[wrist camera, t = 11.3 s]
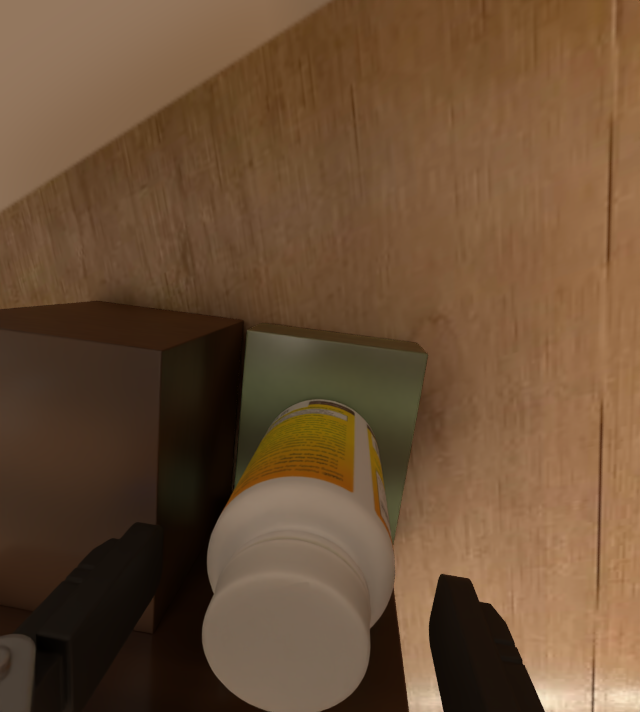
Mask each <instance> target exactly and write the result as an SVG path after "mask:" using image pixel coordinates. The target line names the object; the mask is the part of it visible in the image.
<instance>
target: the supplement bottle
mask: <svg viewBox="0 0 640 712" xmlns="http://www.w3.org/2000/svg"><path fill="white" fill-rule="evenodd" d="M207 572H208V577H209V581H210V584H211V587H212V590H213V593H214V595H213V597H212V599H211V602H210V604H209V606H208V608H207V611H206V614H205V617H204V621H203V627H202V643H203V648H204V653H205V656H206V658H207V661H208V663H209V665H210V667H211V669H212V671H213V672H214V674H215V675H216V677H217V678H218V679H219V680H220V681H221V682H222V683H223V684H224V685H225V686H226V688H227V689H228V690H230V691H231V692H232V693H233V694H235V695H236V696H237V697H239V698H240V699H242V700H244V701H245V702H247V703H249V704H251V705H253V706H255V707H258V708H260V709H263V710H266V711H270V712H320V711H323V710H325V709H328V708H330V707H333V706H335V705H337V704H338V703H340V702H342V701H343V700H345V699H346V698H347V697H348V696H349V695H351V694H352V693H353V692H354V690H355V689H356V688H357V687H358V685H359V684H360V682H361V681H362V679H363V678H364V675H365V673H366V670H367V667H368V663H369V657H370V628H371V627H372V626H373V625H374V624H375V623H376V622H377V620H378V619H379V618H380V617H381V615H382V613H383V612H384V610H385V608H386V606H387V604H388V602H389V600H390V597H391V594H392V590H393V586H394V579H395V560H394V550H393V544H392V537H391V530H390V523H389V516H388V509H387V501H386V495H385V487H384V481H383V474H382V468H381V461H380V454H379V449H378V444H377V441H376V438H375V435H374V433H373V431H372V429H371V428H370V426H369V425H368V423H367V422H366V421H365V420H364V419H363V418H362V417H361V416H360V415H359V414H358V413H357V412H355V411H354V410H353V409H351V408H349V407H348V406H346V405H343V404H341V403H338V402H335V401H330V400H323V399H314V400H307V401H303V402H300V403H297V404H295V405H293V406H291V407H289V408H287V409H286V410H285V411H283V412H282V413H281V414H280V415H279V416H278V417H277V418H276V419H275V420H274V421H273V423H272V424H271V425H270V427H269V428H268V430H267V432H266V434H265V436H264V437H263V439H262V441H261V443H260V445H259V446H258V448H257V450H256V452H255V454H254V455H253V457H252V459H251V461H250V462H249V464H248V466H247V468H246V470H245V471H244V473H243V475H242V477H241V478H240V480H239V482H238V484H237V486H236V488H235V489H234V491H233V493H232V495H231V497H230V499H229V500H228V502H227V504H226V506H225V508H224V509H223V511H222V513H221V515H220V517H219V518H218V520H217V523H216V525H215V527H214V529H213V532H212V534H211V537H210V541H209V545H208V551H207Z"/></svg>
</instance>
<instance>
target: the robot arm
mask: <svg viewBox="0 0 640 712" xmlns="http://www.w3.org/2000/svg"><path fill="white" fill-rule="evenodd" d="M163 546H164V529H163V527H162V526H159V525H153V524H147V523H141V522H136V523H134V524H133V525H132V526H131V527H130V528H129V529H128V530H127V531H126V533H125V534H124V535H123V536H122V537H121V538H120V539H116V538H111V539H109V540H107V541H106V542H104V543H103V544H101V545H99V546H98V547H96V548H94V549H93V550H92V551H91V552H90V553H89V554H88V555H87V556H86V557H85V558H84V559H83V560H82V561H81V562H80V563H79V564H78V567H77V568H74V570H73V571H72V572H71V573H70V574H69V575H68V576H67V577H66V579H65V581H62V582H61V583H60V584H59V585H58V586H57V587H56V588H55V589H54V590H53V591H52V593H51V594H50V595H49V596H48V597H47V598H46V599H45V600H44V601H43V602H42V603H41V604H40V605H39V606H38V607H37V608H36V609H35V610H34V611H33V612H32V613H31V614H30V616H29V617H28V618H27V619H26V620H25V621H24V622H23V623H22V624H21V625H20V626H19V627H18V628H17V629H16V630H15V631H14V632H13V633H12V634H8V635H3V636H0V712H82V710H83V709H84V707H85V706H86V704H87V702H88V701H89V699H90V698H91V696H92V694H93V693H94V691H95V690H96V688H97V686H98V685H99V683H100V682H101V680H102V678H103V677H104V675H105V674H106V672H107V670H108V669H109V667H110V666H111V664H112V662H113V661H114V659H115V658H116V656H117V654H118V653H119V651H120V650H121V648H122V646H123V645H124V643H125V642H126V640H127V639H128V637H129V635H130V634H131V632H132V631H133V629H134V627H135V626H136V624H137V623H138V621H139V619H140V618H141V616H142V615H143V613H144V611H145V610H146V608H147V607H148V605H149V603H150V602H151V600H152V599H153V597H154V595H155V593H156V591H157V589H158V587H159V584H160V581H161V577H162V572H163ZM429 641H430V648H431V652H432V657H433V662H434V667H435V672H436V677H437V682H438V686H439V691H440V696H441V701H442V706H443V711H444V712H545V711H544V709H543V706H542V704H541V702H540V699H539V697H538V695H537V693H536V690H535V688H534V686H533V684H532V681H531V679H530V677H529V674H528V672H527V670H526V668H525V665H523V663H522V658H521V656H520V654H519V652H518V649H517V647H515V642H514V640H513V638H512V636H511V633H510V631H509V629H508V627H507V624H506V622H505V621H504V620H503V619H502V617H501V616H500V615H499V614H498V613H497V611H496V610H495V609H494V608H493V606H492V605H491V604H489V603H483V602H479V600H478V597H477V595H476V592H475V589H474V587H473V584H472V582H471V580H470V579H468V578H463V577H457V576H451V575H445V574H441V575H440V577H439V580H438V584H437V588H436V593H435V597H434V602H433V606H432V611H431V615H430V621H429Z"/></svg>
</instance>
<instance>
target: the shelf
mask: <svg viewBox="0 0 640 712" xmlns="http://www.w3.org/2000/svg"><path fill="white" fill-rule="evenodd" d="M242 333H243V320H239V319H231V318H223V317H216V316H208V315H200V314H193V313H185V312H177V311H170V310H162V309H155V308H147V307H139V306H132V305H124V304H116V303H109V302H101V301H90V302H79V303H67V304H56V305H44V306H33V307H22V308H10V309H0V636H3V635H8V634H12V633H13V632H14V631H15V630H16V629H17V628H18V627H19V626H20V625H21V624H22V623H23V622H24V621H25V620H26V619H27V618H28V617H29V616H30V614H31V613H32V612H33V611H34V610H35V609H36V608H37V607H38V606H39V605H40V604H41V603H42V602H43V601H44V600H45V599H46V598H47V597H48V596H49V595H50V594H51V593H52V591H53V590H54V589H55V588H56V587H57V586H58V585H59V584H60V583H61V582H62V581H65V579H66V577H67V576H68V575H69V574H70V573H71V572H72V571H73V570H74V568H77V567H78V564H79V563H80V562H81V561H82V560H83V559H84V558H85V557H86V556H87V555H88V554H89V553H90V552H91V551H92V550H93V549H94V548H96V547H98V546H99V545H101V544H103V543H104V542H106V541H107V540H109V539H111V538H116V539H120V538H121V537H122V536H123V535H124V534H125V533H126V531H127V530H128V529H129V528H130V527H131V526H132V525H133V524H134V523H136V522H141V523H147V524H153V525H159V526H162V527H163V529H164V546H163V572H162V577H161V581H160V584H159V587H158V589H157V591H156V593H155V595H154V597H153V599H152V600H151V602H150V603H149V605H148V607H147V608H146V610H145V611H144V613H143V615H142V616H141V618H140V619H139V621H138V623H137V624H136V626H135V627H134V629H133V631H132V632H131V634H130V635H129V637H128V639H127V640H126V642H125V643H124V645H123V646H122V648H121V650H120V651H119V653H118V654H117V656H116V658H115V659H114V661H113V662H112V664H111V666H110V667H109V669H108V670H107V672H106V674H105V675H104V677H103V678H102V680H101V682H100V683H99V685H98V686H97V688H96V690H95V691H94V693H93V694H92V696H91V698H90V699H89V701H88V702H87V704H86V706H85V707H84V709H83V710H82V712H270V711H266V710H263V709H260V708H258V707H255V706H253V705H251V704H249V703H247V702H245V701H244V700H242V699H240V698H239V697H237V696H236V695H235V694H233V693H232V692H231V691H230V690H228V689H227V688H226V686H225V685H224V684H223V683H222V682H221V681H220V680H219V679H218V678H217V677H216V675H215V674H214V672H213V671H212V669H211V667H210V665H209V663H208V661H207V658H206V656H205V653H204V648H203V643H202V627H203V621H204V617H205V614H206V611H207V608H208V606H209V604H210V602H211V599H212V597H213V595H214V593H213V590H212V587H211V584H210V581H209V577H208V572H207V551H208V545H209V541H210V537H211V534H212V532H213V529H214V527H215V525H216V523H217V520H218V518H219V517H220V515H221V513H222V511H223V509H224V508H225V506H226V504H227V502H228V500H229V499H230V492H231V478H232V465H233V452H234V439H235V426H236V412H237V399H238V386H239V373H240V360H241V346H242ZM427 359H428V354H427V353H426V352H425V351H424V349H423V348H422V347H421V346H420V345H419V344H418V343H414V342H406V341H398V340H391V339H383V338H375V337H368V336H360V335H353V334H345V333H337V332H330V331H322V330H314V329H307V328H299V327H292V326H284V325H276V324H269V323H261V324H259V325H257V326H254V327H252V328H250V329H248V330H247V332H246V345H245V358H244V371H243V383H242V396H241V409H240V422H239V435H238V448H237V460H236V473H235V486H234V489H235V488H236V486H237V484H238V482H239V480H240V478H241V477H242V475H243V473H244V471H245V470H246V468H247V466H248V464H249V462H250V461H251V459H252V457H253V455H254V454H255V452H256V450H257V448H258V446H259V445H260V443H261V441H262V439H263V437H264V436H265V434H266V432H267V430H268V428H269V427H270V425H271V424H272V423H273V421H274V420H275V419H276V418H277V417H278V416H279V415H280V414H281V413H282V412H283V411H285V410H286V409H287V408H289V407H291V406H293V405H295V404H297V403H300V402H303V401H307V400H314V399H323V400H330V401H335V402H338V403H341V404H343V405H346V406H348V407H349V408H351V409H353V410H354V411H355V412H357V413H358V414H359V415H360V416H361V417H362V418H363V419H364V420H365V421H366V422H367V423H368V425H369V426H370V428H371V429H372V431H373V433H374V435H375V438H376V441H377V444H378V449H379V454H380V461H381V468H382V474H383V481H384V487H385V495H386V501H387V509H388V516H389V523H390V530H391V537H392V544H394V539H395V533H396V528H397V522H398V517H399V511H400V506H401V500H402V495H403V490H404V484H405V479H406V473H407V468H408V462H409V457H410V451H411V446H412V440H413V435H414V430H415V424H416V419H417V413H418V408H419V402H420V397H421V391H422V386H423V381H424V375H425V370H426V364H427ZM320 712H409V707H408V699H407V691H406V683H405V675H404V667H403V659H402V651H401V643H400V635H399V627H398V619H397V611H396V603H395V595H394V586H393V590H392V594H391V597H390V600H389V602H388V604H387V606H386V608H385V610H384V612H383V613H382V615H381V617H380V618H379V619H378V620H377V622H376V623H375V624H374V625H373V626H372V627H371V628H370V657H369V663H368V667H367V670H366V673H365V675H364V678H363V679H362V681H361V682H360V684H359V685H358V687H357V688H356V689H355V690H354V692H353V693H352V694H351V695H349V696H348V697H347V698H346V699H345V700H343V701H342V702H340V703H338V704H337V705H335V706H333V707H330V708H328V709H325V710H323V711H320Z"/></svg>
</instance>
